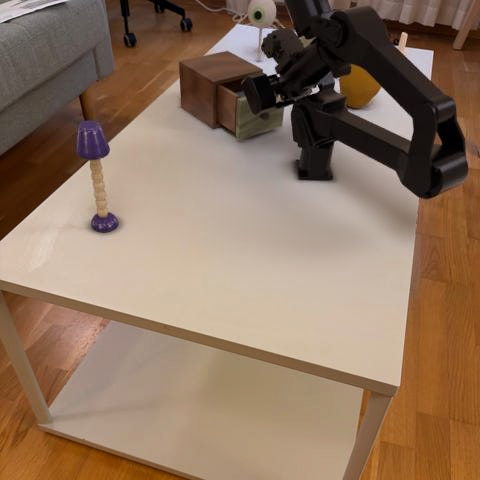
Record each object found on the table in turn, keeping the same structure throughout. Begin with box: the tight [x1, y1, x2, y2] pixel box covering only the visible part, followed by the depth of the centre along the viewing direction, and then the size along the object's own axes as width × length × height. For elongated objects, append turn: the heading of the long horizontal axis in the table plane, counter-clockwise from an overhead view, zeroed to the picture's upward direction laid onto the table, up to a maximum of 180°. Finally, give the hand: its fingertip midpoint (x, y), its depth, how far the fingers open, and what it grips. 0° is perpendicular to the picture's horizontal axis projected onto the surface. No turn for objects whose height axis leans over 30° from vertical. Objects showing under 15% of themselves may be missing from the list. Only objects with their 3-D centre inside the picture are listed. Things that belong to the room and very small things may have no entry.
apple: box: [338, 64, 382, 109], centre depth 110 cm, size 10×10×12 cm
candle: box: [397, 31, 409, 57], centre depth 124 cm, size 5×5×10 cm
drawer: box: [216, 78, 285, 141], centre depth 101 cm, size 13×11×8 cm
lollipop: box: [247, 0, 277, 62], centre depth 125 cm, size 7×7×15 cm
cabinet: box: [178, 50, 264, 130], centre depth 106 cm, size 13×13×10 cm
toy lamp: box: [75, 119, 120, 233], centre depth 73 cm, size 5×5×17 cm
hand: (266, 105), depth 96 cm, fingers closed
